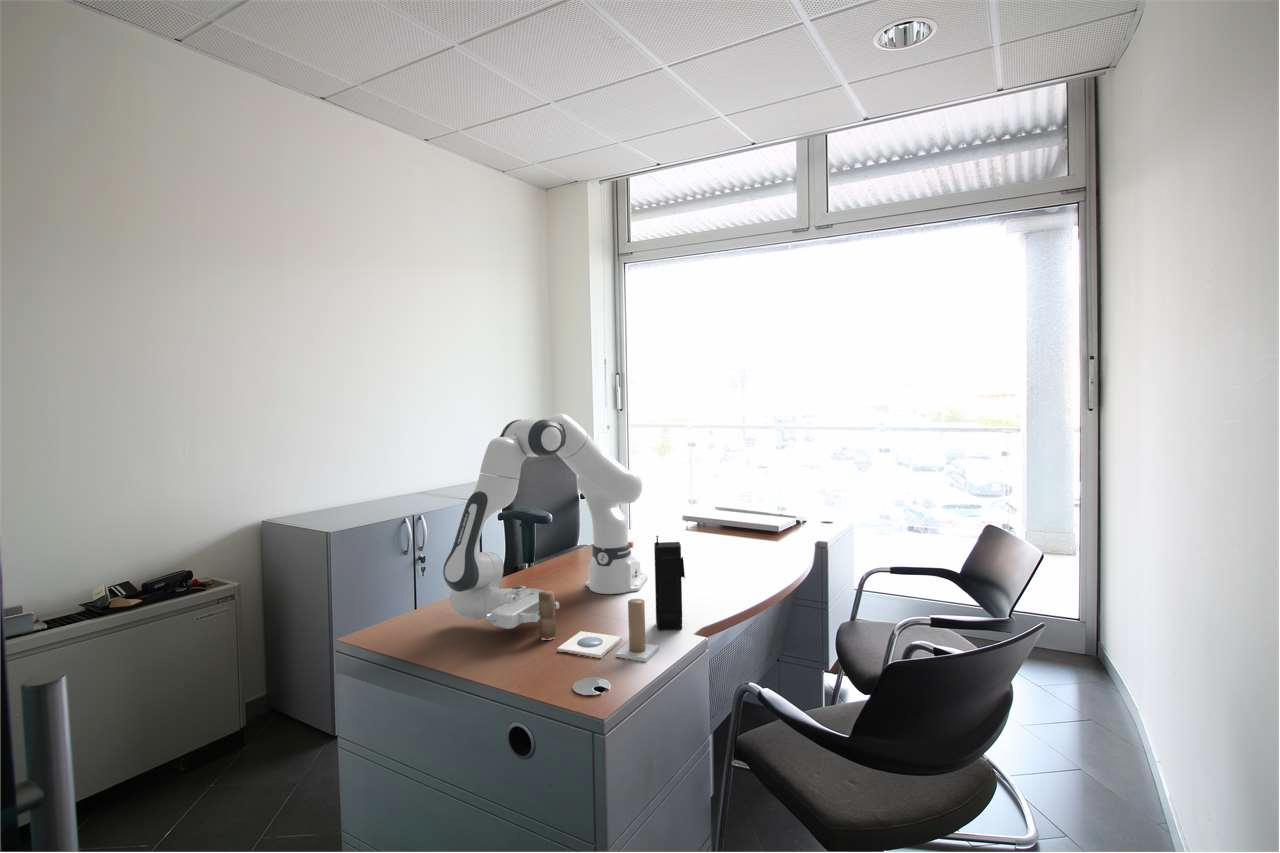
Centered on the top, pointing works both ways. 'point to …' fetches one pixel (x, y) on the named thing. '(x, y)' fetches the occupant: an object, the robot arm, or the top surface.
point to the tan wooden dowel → (637, 634)
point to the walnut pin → (547, 614)
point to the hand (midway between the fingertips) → (548, 612)
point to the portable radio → (668, 585)
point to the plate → (590, 643)
